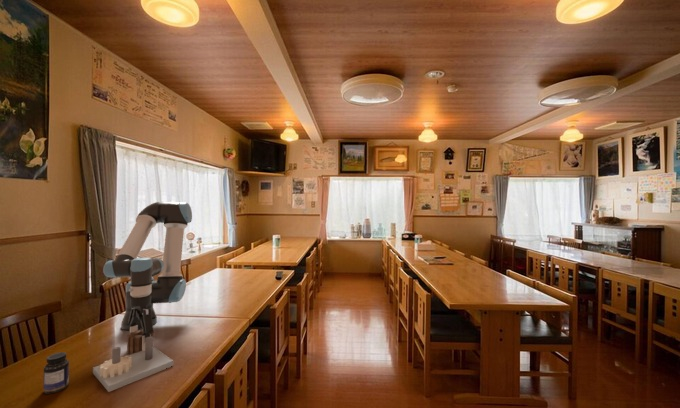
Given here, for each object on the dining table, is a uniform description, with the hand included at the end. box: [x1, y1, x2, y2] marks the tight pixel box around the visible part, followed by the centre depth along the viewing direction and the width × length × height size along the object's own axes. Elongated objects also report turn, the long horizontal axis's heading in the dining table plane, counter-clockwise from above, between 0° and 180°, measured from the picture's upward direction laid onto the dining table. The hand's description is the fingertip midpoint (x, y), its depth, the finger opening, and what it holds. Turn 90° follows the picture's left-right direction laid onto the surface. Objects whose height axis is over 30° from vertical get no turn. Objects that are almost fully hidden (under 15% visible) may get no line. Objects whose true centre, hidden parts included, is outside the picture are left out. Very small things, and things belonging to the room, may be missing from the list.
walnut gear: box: [126, 329, 154, 356], centre depth 124 cm, size 9×9×7 cm
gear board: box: [92, 336, 174, 393], centre depth 109 cm, size 18×20×10 cm
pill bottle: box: [43, 351, 70, 395], centre depth 98 cm, size 6×6×11 cm
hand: (139, 345), depth 124 cm, fingers open, 13 cm apart
